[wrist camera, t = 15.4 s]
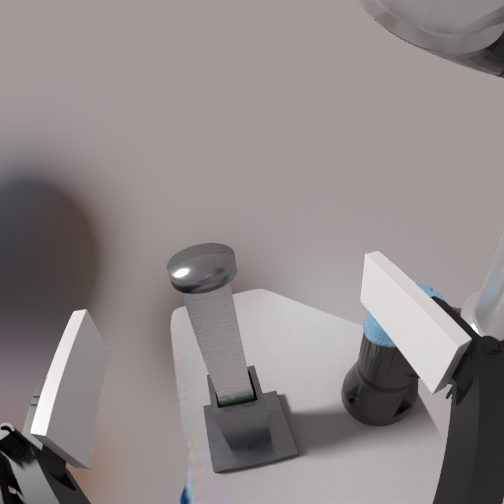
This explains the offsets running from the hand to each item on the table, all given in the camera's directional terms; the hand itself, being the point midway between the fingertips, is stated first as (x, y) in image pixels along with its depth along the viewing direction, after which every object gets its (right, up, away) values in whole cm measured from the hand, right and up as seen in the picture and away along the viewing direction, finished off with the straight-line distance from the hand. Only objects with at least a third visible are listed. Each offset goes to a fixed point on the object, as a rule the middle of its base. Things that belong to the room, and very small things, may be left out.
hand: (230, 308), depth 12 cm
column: (-1, -22, +27) cm, 35 cm away
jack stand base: (0, -29, +30) cm, 42 cm away
